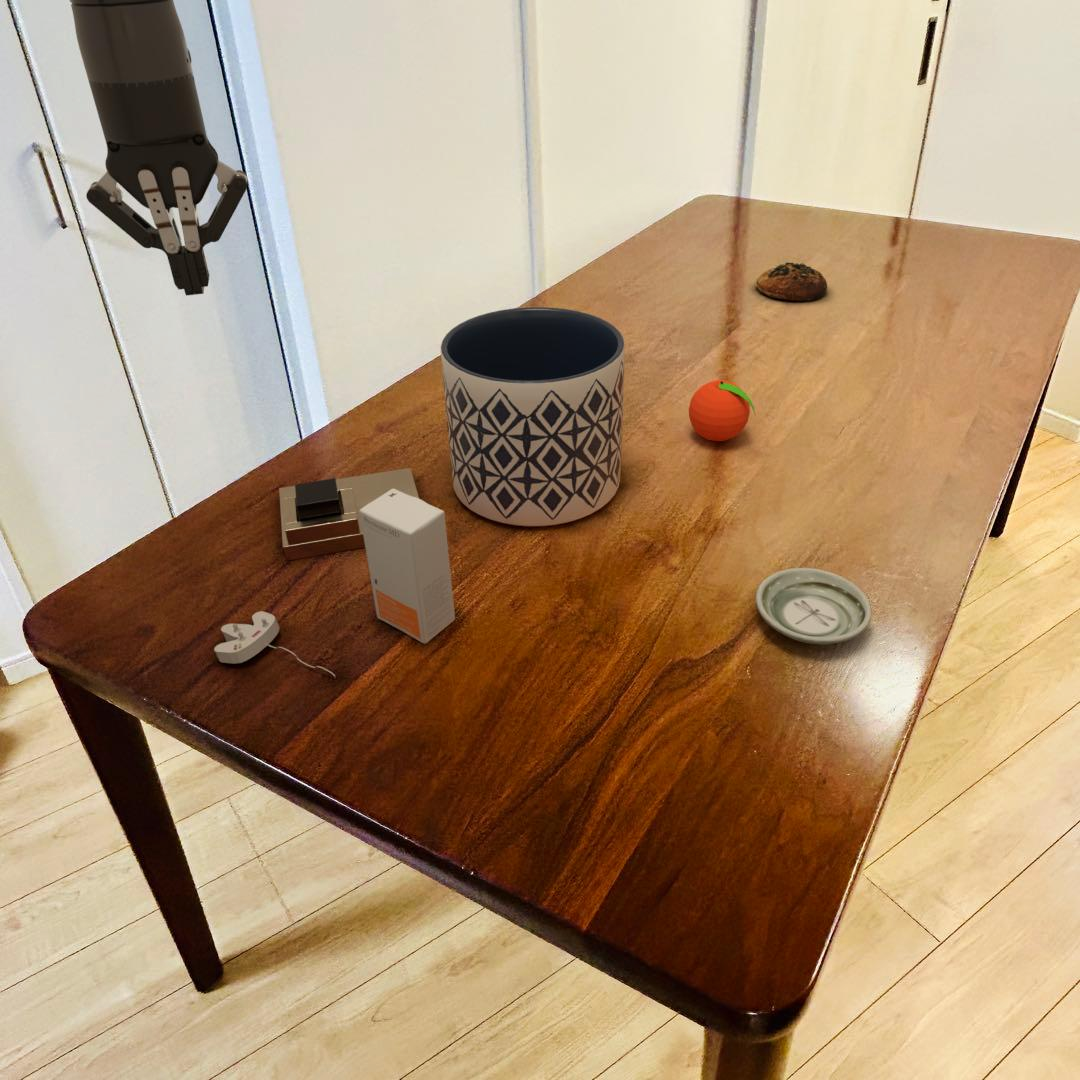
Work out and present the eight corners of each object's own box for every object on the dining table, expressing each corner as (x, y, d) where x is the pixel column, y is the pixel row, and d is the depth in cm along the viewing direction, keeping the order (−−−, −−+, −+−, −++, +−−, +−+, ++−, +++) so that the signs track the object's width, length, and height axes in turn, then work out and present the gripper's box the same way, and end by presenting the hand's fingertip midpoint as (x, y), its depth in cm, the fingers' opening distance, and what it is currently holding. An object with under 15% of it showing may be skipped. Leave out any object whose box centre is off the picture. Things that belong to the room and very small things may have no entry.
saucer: (731, 627, 79) (734, 606, 77) (786, 574, 84) (789, 553, 83) (835, 677, 73) (840, 656, 72) (885, 617, 79) (891, 596, 78)
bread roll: (815, 306, 136) (816, 273, 133) (745, 303, 142) (744, 271, 139) (837, 286, 144) (838, 254, 141) (769, 284, 149) (769, 253, 147)
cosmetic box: (375, 620, 80) (356, 508, 73) (408, 595, 83) (393, 485, 76) (425, 647, 77) (410, 534, 70) (458, 620, 80) (446, 509, 73)
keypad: (286, 561, 88) (279, 531, 86) (282, 501, 96) (275, 473, 94) (428, 536, 91) (424, 507, 89) (412, 480, 99) (408, 453, 97)
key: (300, 523, 88) (296, 505, 86) (298, 501, 91) (294, 484, 90) (341, 516, 88) (338, 498, 87) (338, 494, 92) (335, 477, 90)
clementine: (765, 437, 105) (773, 381, 101) (735, 461, 101) (742, 404, 97) (705, 417, 109) (711, 363, 105) (674, 440, 105) (679, 384, 101)
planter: (503, 551, 88) (495, 400, 79) (425, 469, 101) (409, 331, 91) (653, 496, 96) (662, 352, 86) (563, 426, 108) (562, 294, 99)
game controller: (235, 621, 81) (229, 599, 79) (358, 634, 79) (354, 612, 78) (206, 665, 76) (198, 642, 75) (335, 680, 75) (331, 657, 73)
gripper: (36, 84, 64) (110, 316, 74) (229, 72, 67) (274, 298, 77) (54, 68, 70) (120, 285, 80) (230, 57, 73) (272, 269, 83)
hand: (195, 291), depth 78 cm, fingers closed
